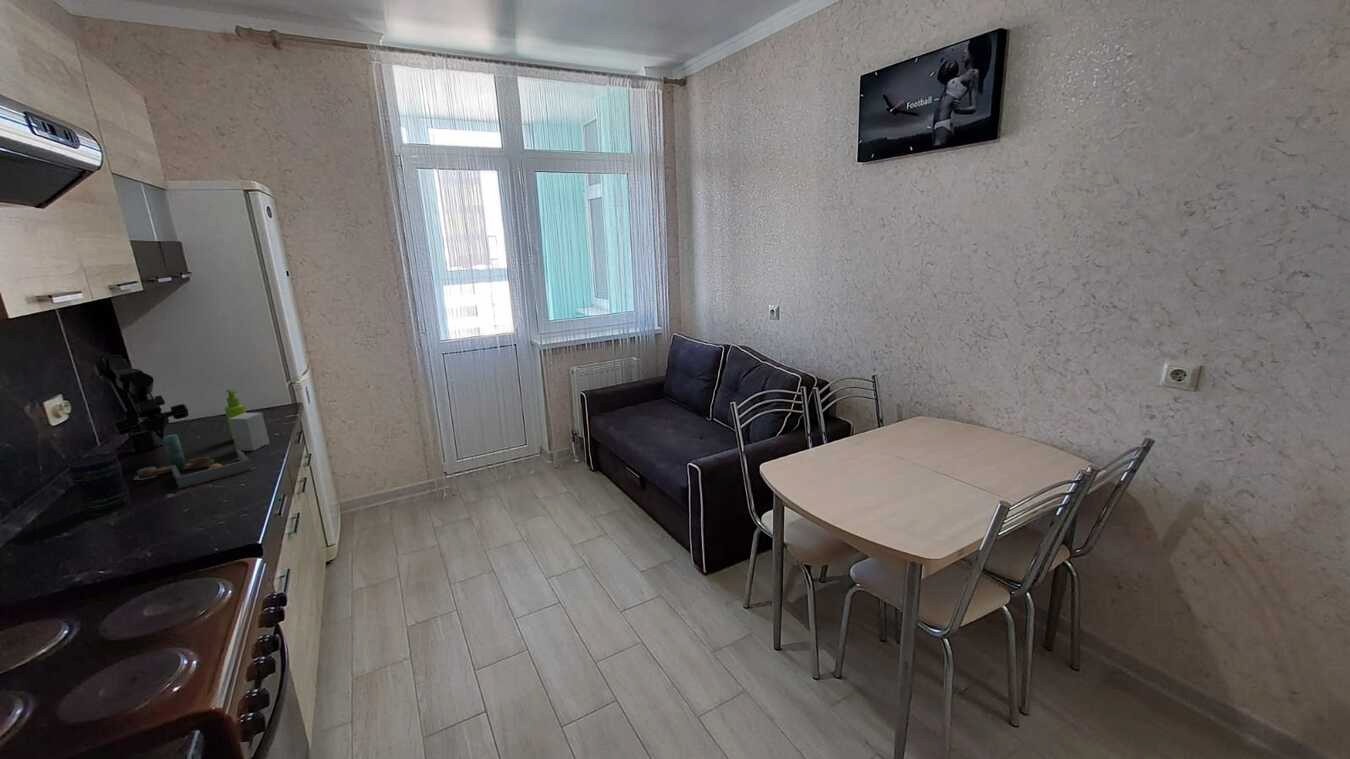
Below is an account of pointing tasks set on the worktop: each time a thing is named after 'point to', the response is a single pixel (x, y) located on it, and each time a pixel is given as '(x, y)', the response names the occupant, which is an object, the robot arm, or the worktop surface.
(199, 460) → the lever
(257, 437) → the supplement box
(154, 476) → the pivot base
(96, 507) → the storage jar
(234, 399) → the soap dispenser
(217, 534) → the worktop surface
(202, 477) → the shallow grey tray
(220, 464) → the ball
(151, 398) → the robot arm
